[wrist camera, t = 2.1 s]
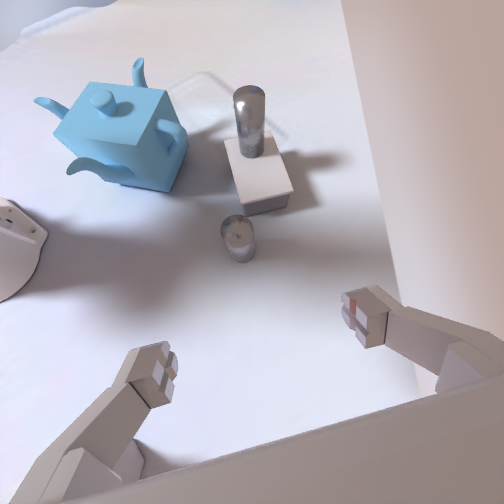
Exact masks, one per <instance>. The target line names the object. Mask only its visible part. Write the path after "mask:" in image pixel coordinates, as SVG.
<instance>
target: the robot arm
mask: <svg viewBox="0 0 504 504" xmlns="http://www.w3.org/2000/svg"><path fill="white" fill-rule="evenodd" d="M47 235H48V232H47V231H46V230H45V229H44V228H42V227H41V226H40V225H39V224H37V223H36V222H35V221H34V220H32V219H31V218H30V217H29V216H27V215H26V214H25V213H24V212H23V211H21V210H20V209H19V208H18V207H16V206H15V205H14V204H13V203H11V202H10V201H9V200H7V199H4V198H0V302H1V301H3V300H5V299H7V298H9V297H10V296H12V295H13V294H14V293H16V292H17V291H18V290H19V289H20V288H22V287H23V286H24V284H25V283H26V282H27V281H28V280H29V278H30V277H31V275H32V274H33V272H34V270H35V268H36V266H37V263H38V260H39V255H40V250H41V247H42V245H43V244H44V242H45V240H46V238H47ZM341 301H342V302H343V303H344V305H343V307H342V315H343V318H344V321H345V322H346V324H347V326H348V327H349V328H350V329H352V330H354V331H356V337H357V339H358V340H359V341H360V343H361V344H362V345H363V346H364V348H365V349H367V348H371V347H375V346H379V345H383V344H385V345H386V346H387V347H389V348H391V349H393V350H394V351H396V352H398V353H400V354H401V355H403V356H405V357H406V358H408V359H410V360H412V361H413V362H415V363H417V364H419V365H420V366H422V367H424V368H426V369H427V370H429V371H431V372H433V373H434V374H436V375H438V376H439V377H438V380H437V383H436V388H435V391H436V392H437V393H438V394H435V395H431V396H428V397H424V398H421V399H417V400H414V401H411V402H407V403H404V404H400V405H397V406H393V407H390V408H386V409H383V410H379V411H376V412H372V413H369V414H366V415H362V416H359V417H355V418H352V419H348V420H345V421H341V422H338V423H334V424H331V425H327V426H324V427H321V428H317V429H314V430H310V431H307V432H303V433H300V434H296V435H293V436H289V437H286V438H283V439H279V440H276V441H272V442H269V443H265V444H262V445H258V446H255V447H251V448H248V449H245V450H241V451H238V452H234V453H231V454H227V455H224V456H220V457H217V458H214V459H210V460H207V461H203V462H200V463H196V464H193V465H189V466H186V467H182V468H179V469H176V470H172V471H169V472H165V473H162V474H158V475H155V476H151V477H148V478H145V479H141V480H138V481H134V482H131V483H127V484H124V485H122V482H123V481H122V479H121V477H120V476H119V475H117V474H116V473H115V472H114V471H112V470H113V468H114V466H115V465H116V463H117V462H118V460H119V459H120V457H121V456H122V454H123V452H124V451H125V449H126V448H127V446H128V445H129V443H130V442H131V440H132V439H133V437H134V435H135V434H136V432H137V431H138V429H139V428H140V426H141V425H142V423H143V421H144V420H145V418H146V417H147V415H148V414H149V412H150V411H151V410H150V409H152V408H156V407H159V406H162V405H165V404H169V403H171V401H172V396H173V391H174V387H175V386H174V384H173V382H172V381H173V380H174V379H175V377H176V376H177V372H178V360H177V357H176V355H175V353H173V352H171V351H169V350H170V347H171V346H170V345H169V343H168V341H163V342H159V343H155V344H150V345H146V346H143V347H139V348H135V349H131V350H130V351H129V352H128V354H127V356H126V358H125V360H124V362H123V364H122V366H121V368H120V370H119V372H118V374H117V376H116V378H115V380H114V382H113V385H112V387H110V388H107V389H106V390H105V391H104V392H103V393H102V394H101V395H100V396H99V397H98V398H97V399H96V400H95V401H94V402H93V403H92V404H91V405H90V406H89V407H88V408H87V409H86V410H85V411H84V412H83V413H82V414H81V415H80V416H79V417H78V418H77V419H76V420H75V421H74V422H73V423H72V424H71V425H70V426H69V427H68V428H67V429H66V430H65V431H64V432H63V433H62V434H61V435H60V436H59V437H58V438H57V439H56V440H55V441H54V442H53V443H52V444H51V445H50V446H49V447H48V448H47V449H46V450H45V451H44V452H43V453H42V454H41V455H40V456H39V457H38V458H37V459H36V461H35V462H34V464H33V466H32V467H31V469H30V470H29V472H28V474H27V475H26V477H25V478H24V480H23V482H22V483H21V485H20V486H19V488H18V490H17V491H16V493H15V494H14V496H13V498H12V499H11V501H10V502H9V504H504V342H503V341H501V340H500V339H498V338H497V337H495V336H494V335H492V334H491V333H489V332H487V331H484V330H480V329H477V328H473V327H471V326H468V325H465V324H462V323H458V322H455V321H452V320H449V319H446V318H443V317H439V316H436V315H433V314H430V313H427V312H423V311H421V310H418V309H414V308H411V307H404V306H402V305H401V304H400V303H398V302H397V301H396V300H395V299H393V298H392V297H391V296H390V295H388V294H387V293H386V292H385V291H383V290H382V289H381V288H380V287H378V286H377V285H371V286H368V287H364V288H361V289H357V290H354V291H350V292H347V293H343V294H342V296H341Z"/></svg>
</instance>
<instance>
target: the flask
mask: <svg viewBox="0 0 504 504" xmlns="http://www.w3.org/2000/svg"><path fill="white" fill-rule="evenodd" d="M144 462H145V460H144V458H143V456H142V454H141V452H140V451H139V449H138V447H137V445H136V443H135V442H134V440H131V442H130V443H129V445H128V446H127V448H126V449H125V451H124V452H123V454H122V456H121V457H120V459H119V460H118V462H117V463H116V465H115V466H114V468H113V470H112V471H114V472H115V473H116V474H117V475H119V476H120V477H121V479H122V481H123V482H122V485H124V484H127V483H131V482H134V481H138V480H140V477H141V473H142V470H143V466H144Z"/></svg>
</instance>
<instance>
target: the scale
mask: <svg viewBox="0 0 504 504" xmlns="http://www.w3.org/2000/svg"><path fill="white" fill-rule="evenodd" d="M224 144H225V147H226V151H227V155H228V159H229V162H230V166H231V170H232V173H233V177H234V181H235V184H236V188H237V192H238V196H239V199H240V203H241V205H242V206H243V209H244V213H245V217H247V216H251V215H255V214H259V213H263V212H267V211H271V210H275V209H279V208H283V207H286V205H287V200H288V196H289V194H290V193H293V192H294V189H293V187H292V184H291V182H290V179H289V176H288V174H287V171H286V169H285V166H284V163H283V161H282V158H281V156H280V153H279V150H278V148H277V145H276V143H275V140H274V137H273V135H272V132H271V130H267V131H264V151H263V153H262V155H260V156H259V157H257V158H253V159H250V158H246V157H244V156H243V155H242V154H241V153H240V148H239V141H238V137H236V138H232V139H227V140H224Z"/></svg>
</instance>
